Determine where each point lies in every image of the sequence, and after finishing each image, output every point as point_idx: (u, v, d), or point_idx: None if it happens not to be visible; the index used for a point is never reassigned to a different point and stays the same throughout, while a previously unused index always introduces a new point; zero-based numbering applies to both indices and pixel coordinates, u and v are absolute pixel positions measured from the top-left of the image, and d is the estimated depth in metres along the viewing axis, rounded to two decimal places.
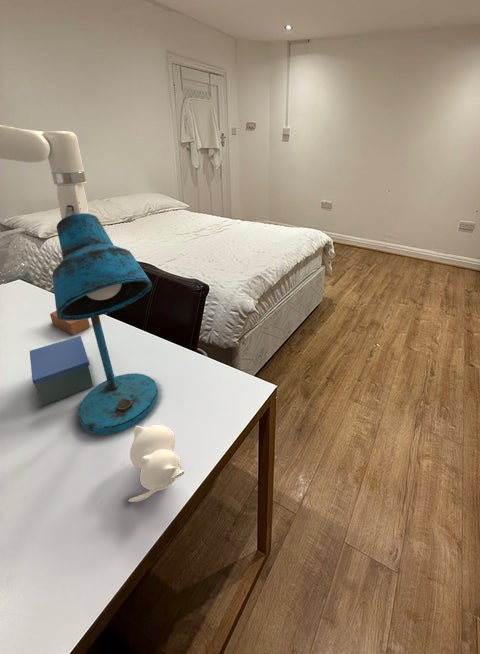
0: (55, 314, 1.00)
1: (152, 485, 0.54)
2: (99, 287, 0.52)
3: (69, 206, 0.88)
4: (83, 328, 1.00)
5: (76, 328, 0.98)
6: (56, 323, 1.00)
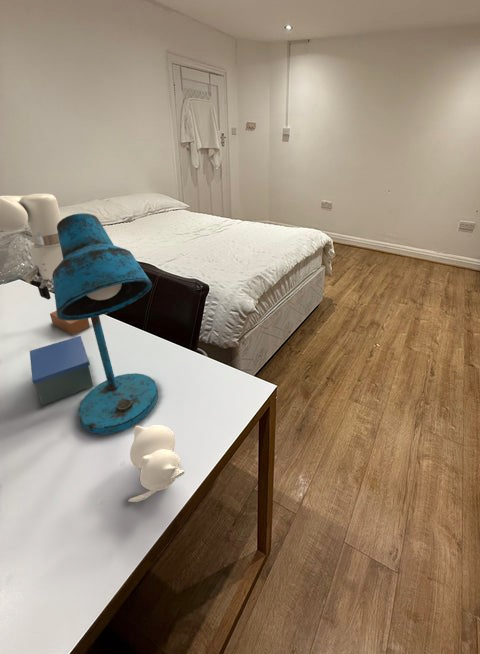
0: (55, 314, 1.00)
1: (152, 485, 0.54)
2: (99, 287, 0.52)
3: (36, 266, 0.89)
4: (83, 328, 1.00)
5: (76, 328, 0.98)
6: (56, 323, 1.00)
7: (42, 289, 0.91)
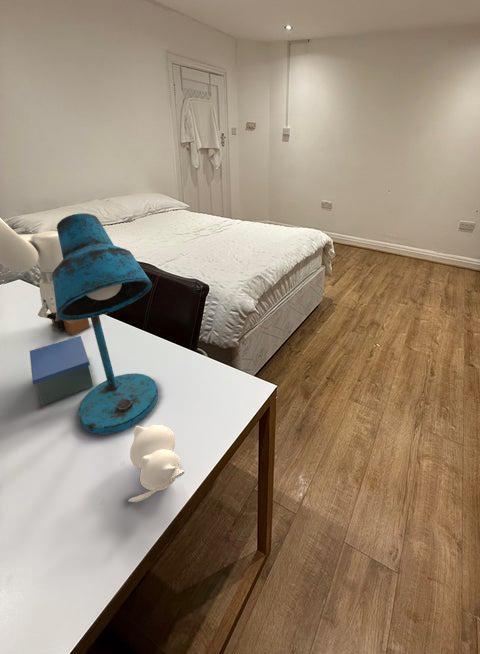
0: None
1: (152, 485, 0.54)
2: (99, 287, 0.52)
3: (45, 302, 0.94)
4: (83, 328, 1.00)
5: (76, 328, 0.98)
6: None
7: (57, 322, 0.97)
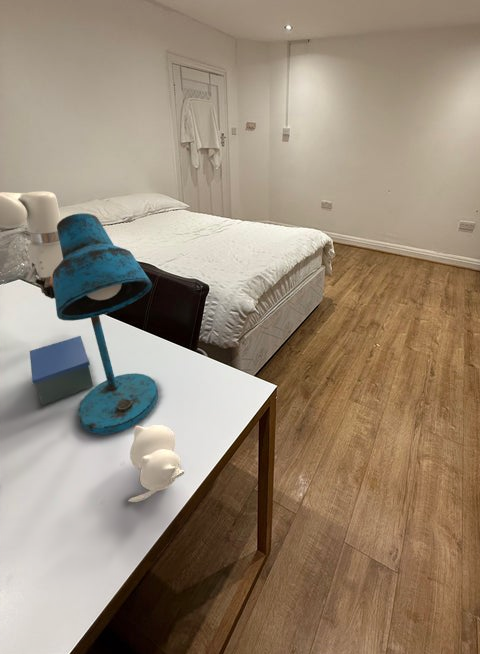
0: None
1: (152, 485, 0.54)
2: (99, 287, 0.52)
3: (34, 265, 0.89)
4: None
5: None
6: None
7: (47, 288, 0.92)
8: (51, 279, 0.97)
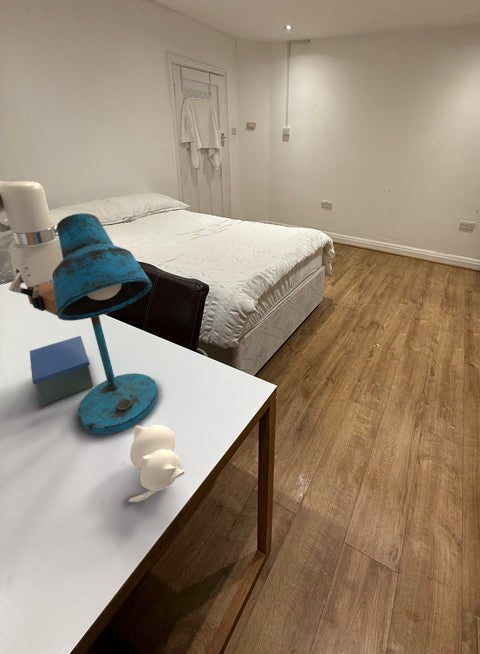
0: None
1: (152, 485, 0.54)
2: (99, 287, 0.52)
3: (19, 272, 0.73)
4: None
5: None
6: None
7: (35, 299, 0.77)
8: (41, 287, 0.81)
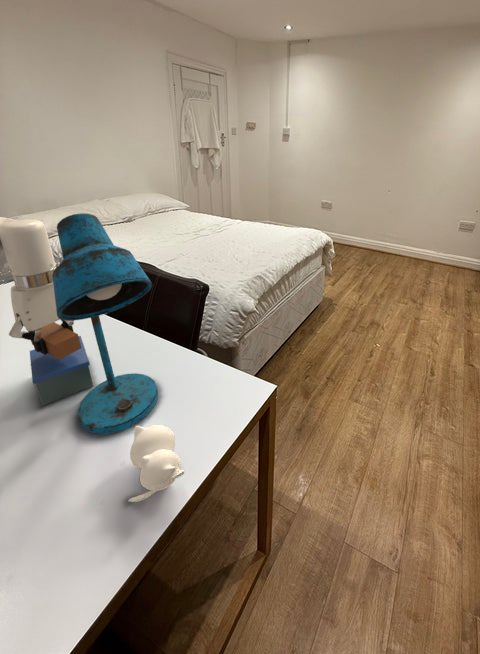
0: None
1: (152, 485, 0.54)
2: (99, 287, 0.52)
3: (19, 316, 0.68)
4: (72, 350, 0.75)
5: (62, 351, 0.72)
6: None
7: (37, 342, 0.72)
8: (43, 327, 0.76)
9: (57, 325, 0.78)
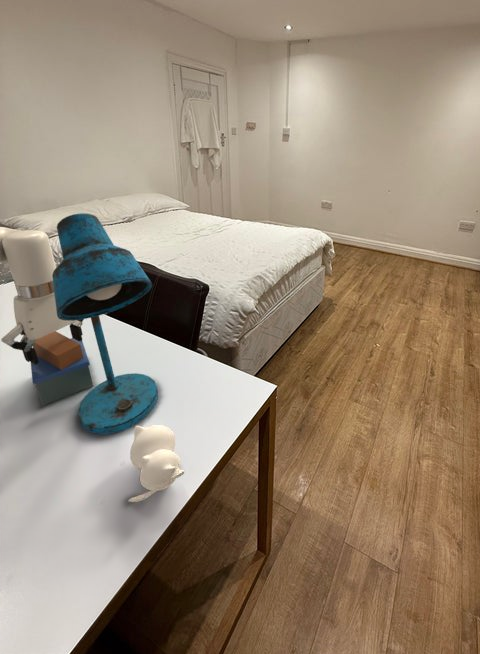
0: (38, 341, 0.76)
1: (152, 485, 0.54)
2: (99, 287, 0.52)
3: (20, 323, 0.69)
4: (75, 360, 0.76)
5: (65, 361, 0.74)
6: (39, 353, 0.76)
7: (28, 352, 0.71)
8: (46, 337, 0.77)
9: (60, 335, 0.79)
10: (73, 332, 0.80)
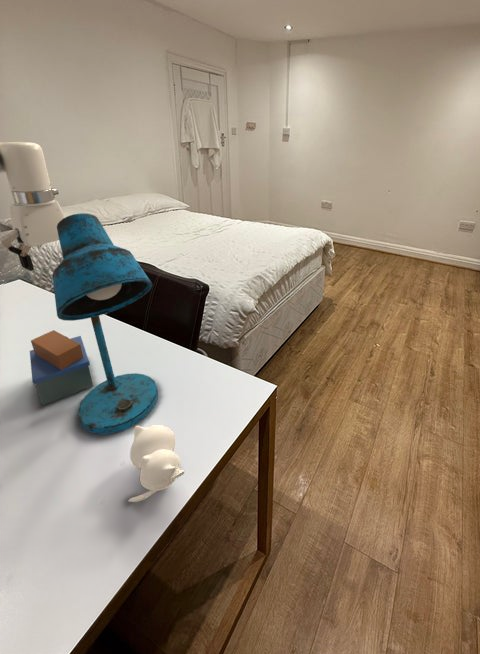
0: (38, 341, 0.76)
1: (152, 485, 0.54)
2: (99, 287, 0.52)
3: (16, 229, 0.75)
4: (75, 360, 0.76)
5: (65, 361, 0.74)
6: (39, 353, 0.76)
7: (23, 258, 0.77)
8: (46, 337, 0.77)
9: (60, 335, 0.79)
10: None
